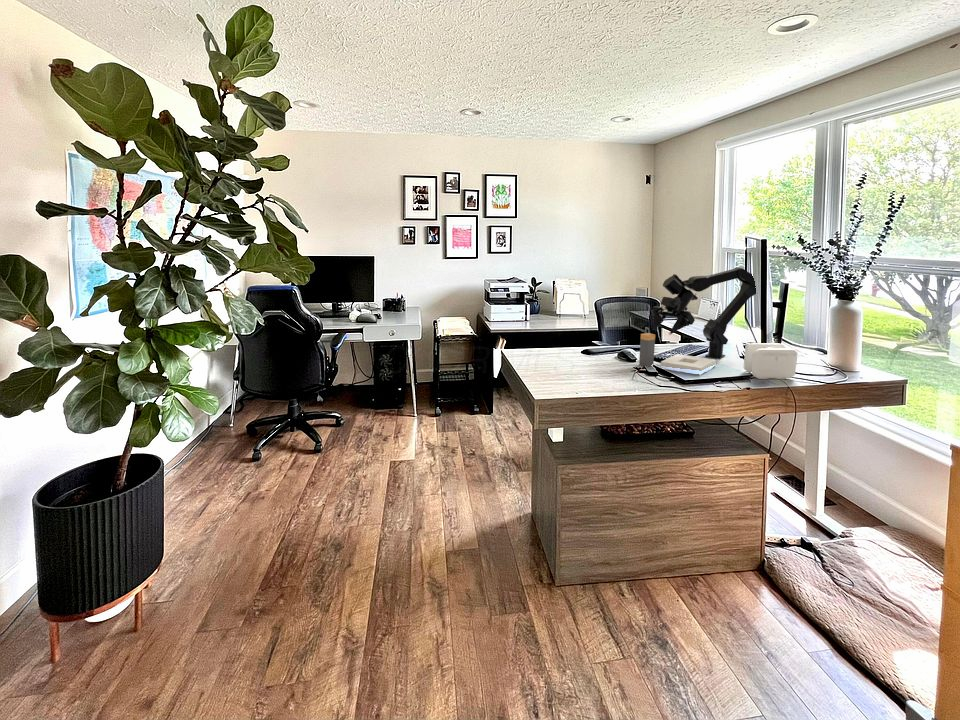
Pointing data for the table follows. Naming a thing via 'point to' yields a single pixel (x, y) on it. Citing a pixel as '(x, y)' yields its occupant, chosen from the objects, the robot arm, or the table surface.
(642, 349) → the plug
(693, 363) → the socket block
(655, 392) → the table surface
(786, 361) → the cable organizer
